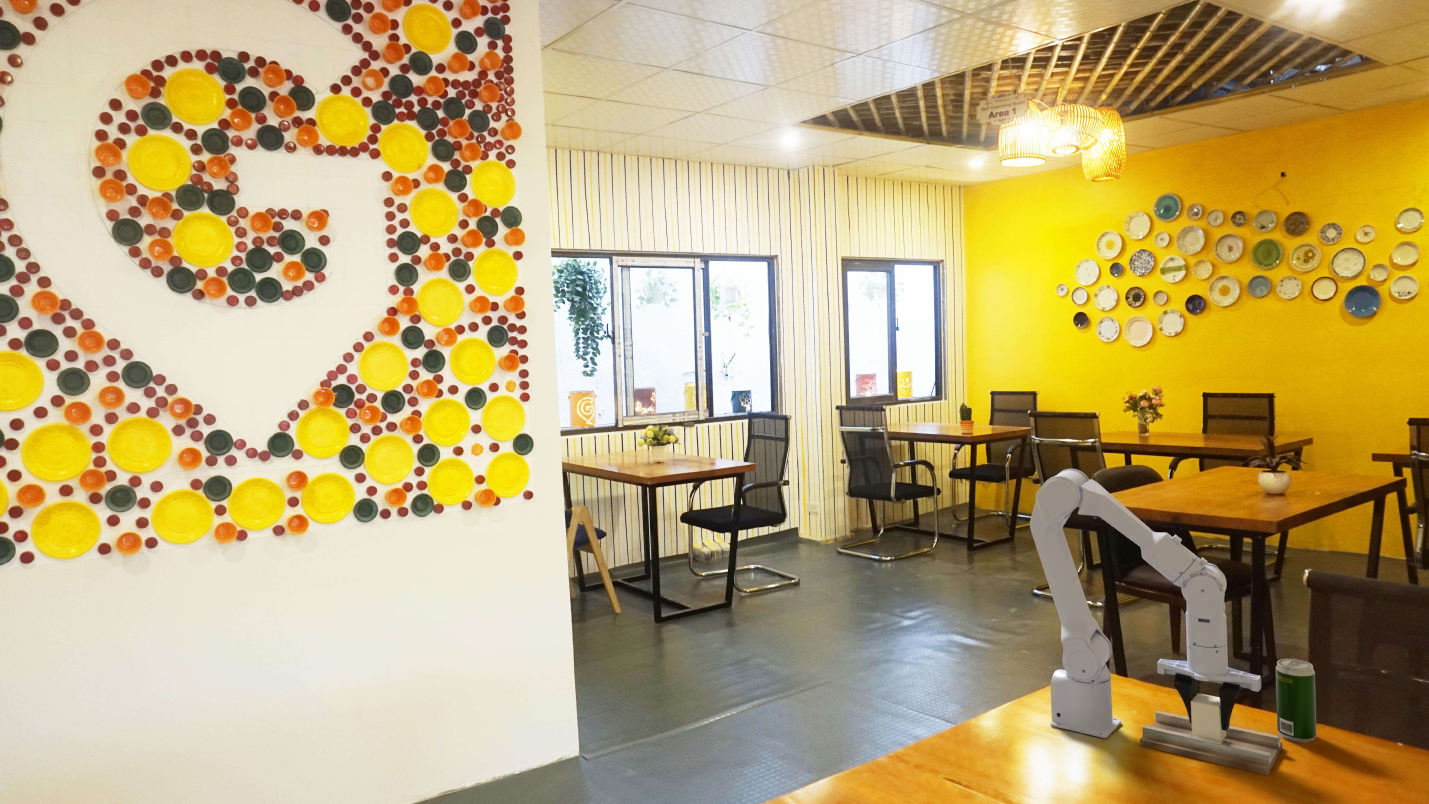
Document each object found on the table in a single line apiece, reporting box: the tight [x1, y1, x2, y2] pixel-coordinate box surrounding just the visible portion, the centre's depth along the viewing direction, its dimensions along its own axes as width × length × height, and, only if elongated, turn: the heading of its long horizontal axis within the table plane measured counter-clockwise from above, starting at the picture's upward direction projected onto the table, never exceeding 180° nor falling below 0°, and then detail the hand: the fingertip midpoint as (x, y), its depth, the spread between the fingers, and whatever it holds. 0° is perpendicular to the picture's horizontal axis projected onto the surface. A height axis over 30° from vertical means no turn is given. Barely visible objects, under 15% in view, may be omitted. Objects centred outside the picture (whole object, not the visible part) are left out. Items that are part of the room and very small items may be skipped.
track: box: [1139, 710, 1283, 776], centre depth 143 cm, size 18×11×2 cm, turn 48°
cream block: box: [1191, 692, 1226, 742], centre depth 143 cm, size 4×4×6 cm
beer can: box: [1275, 658, 1318, 744], centre depth 145 cm, size 5×5×12 cm
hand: (1209, 724), depth 143 cm, fingers closed on cream block, 4 cm apart
